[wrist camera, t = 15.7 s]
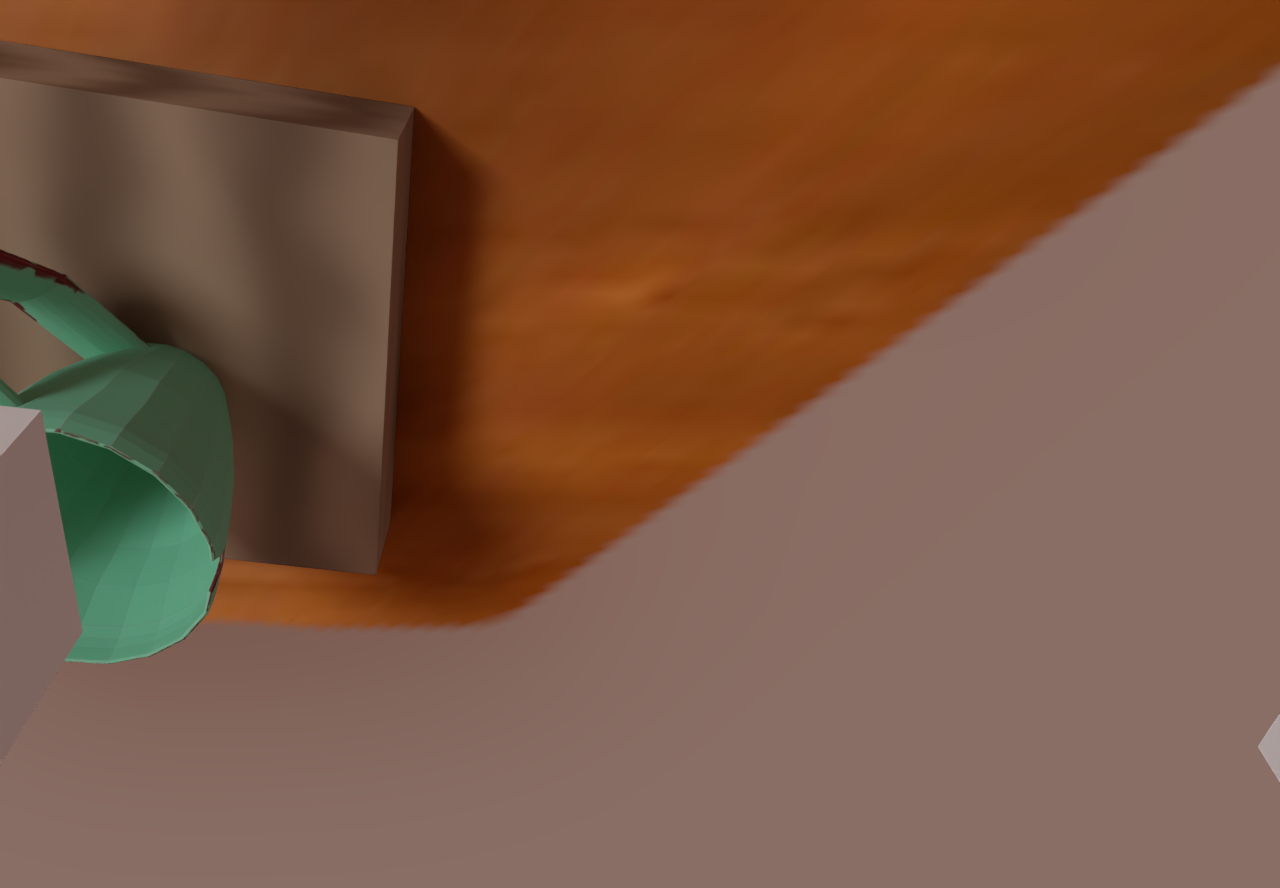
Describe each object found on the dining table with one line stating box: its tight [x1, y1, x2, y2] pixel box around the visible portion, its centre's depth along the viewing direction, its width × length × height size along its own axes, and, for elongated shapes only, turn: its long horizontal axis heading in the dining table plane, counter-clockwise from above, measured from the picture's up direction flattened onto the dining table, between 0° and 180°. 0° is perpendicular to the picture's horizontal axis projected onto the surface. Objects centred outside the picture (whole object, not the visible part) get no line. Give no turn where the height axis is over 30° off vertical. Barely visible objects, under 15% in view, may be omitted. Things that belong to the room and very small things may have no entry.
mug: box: [0, 249, 234, 664], centre depth 38 cm, size 15×10×10 cm
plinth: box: [0, 41, 414, 575], centre depth 44 cm, size 20×20×4 cm
